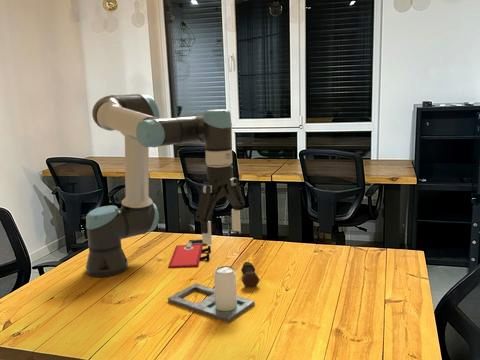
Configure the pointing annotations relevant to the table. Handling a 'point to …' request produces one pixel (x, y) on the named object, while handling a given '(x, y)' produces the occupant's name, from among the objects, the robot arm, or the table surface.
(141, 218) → the robot arm
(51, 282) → the table surface
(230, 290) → the can
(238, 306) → the pad
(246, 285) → the bolt
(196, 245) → the red board with handle
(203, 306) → the grey flat frame
